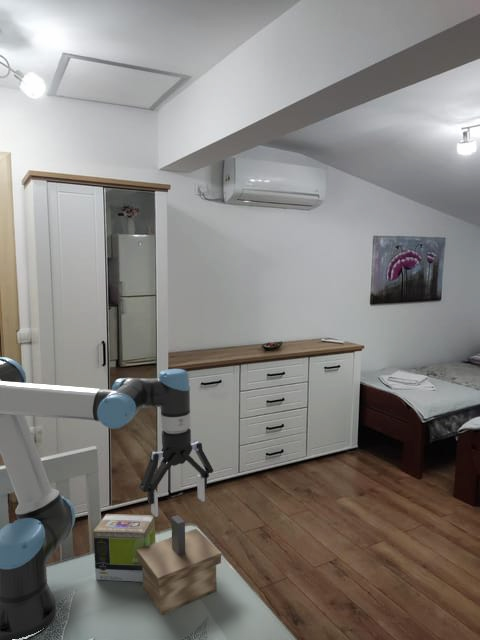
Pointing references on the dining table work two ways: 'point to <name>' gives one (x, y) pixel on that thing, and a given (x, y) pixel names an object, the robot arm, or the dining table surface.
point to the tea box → (121, 546)
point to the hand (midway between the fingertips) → (178, 506)
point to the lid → (178, 555)
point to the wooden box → (180, 590)
